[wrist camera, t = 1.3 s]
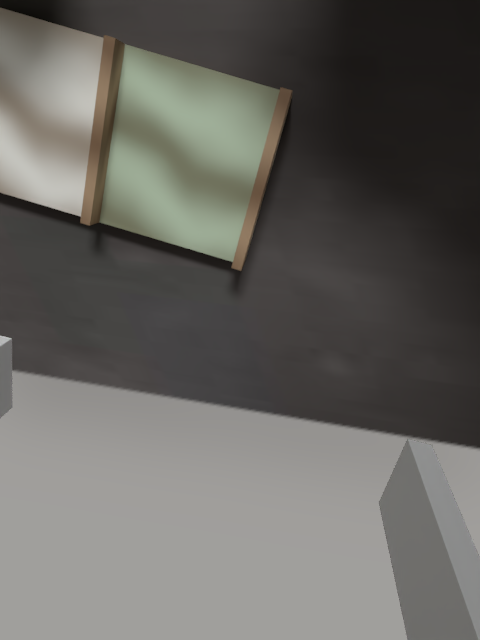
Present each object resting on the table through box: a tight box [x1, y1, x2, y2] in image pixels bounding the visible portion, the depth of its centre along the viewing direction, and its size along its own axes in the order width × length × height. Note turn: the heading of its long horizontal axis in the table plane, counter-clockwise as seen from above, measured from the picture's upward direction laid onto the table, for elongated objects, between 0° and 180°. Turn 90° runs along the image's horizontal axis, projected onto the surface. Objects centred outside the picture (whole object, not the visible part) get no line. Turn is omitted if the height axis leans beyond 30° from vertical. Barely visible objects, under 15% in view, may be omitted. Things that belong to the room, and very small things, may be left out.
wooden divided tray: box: [0, 8, 292, 271], centre depth 33 cm, size 13×26×3 cm, turn 75°
